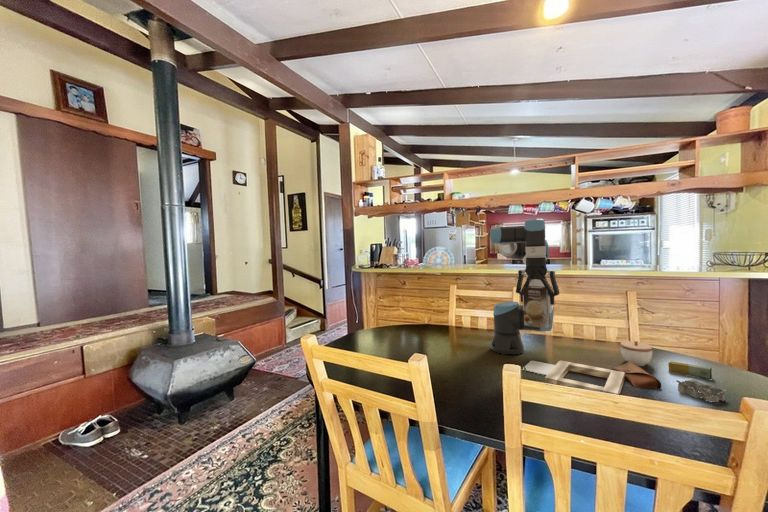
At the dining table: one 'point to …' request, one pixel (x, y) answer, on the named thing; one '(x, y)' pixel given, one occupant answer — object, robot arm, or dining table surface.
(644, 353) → the lidded jar
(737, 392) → the dining table surface
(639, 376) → the sunglasses case
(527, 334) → the dining table surface
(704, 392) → the grey flat lump
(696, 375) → the medication box
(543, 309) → the coffee box
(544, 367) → the spiral notepad
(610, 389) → the board
